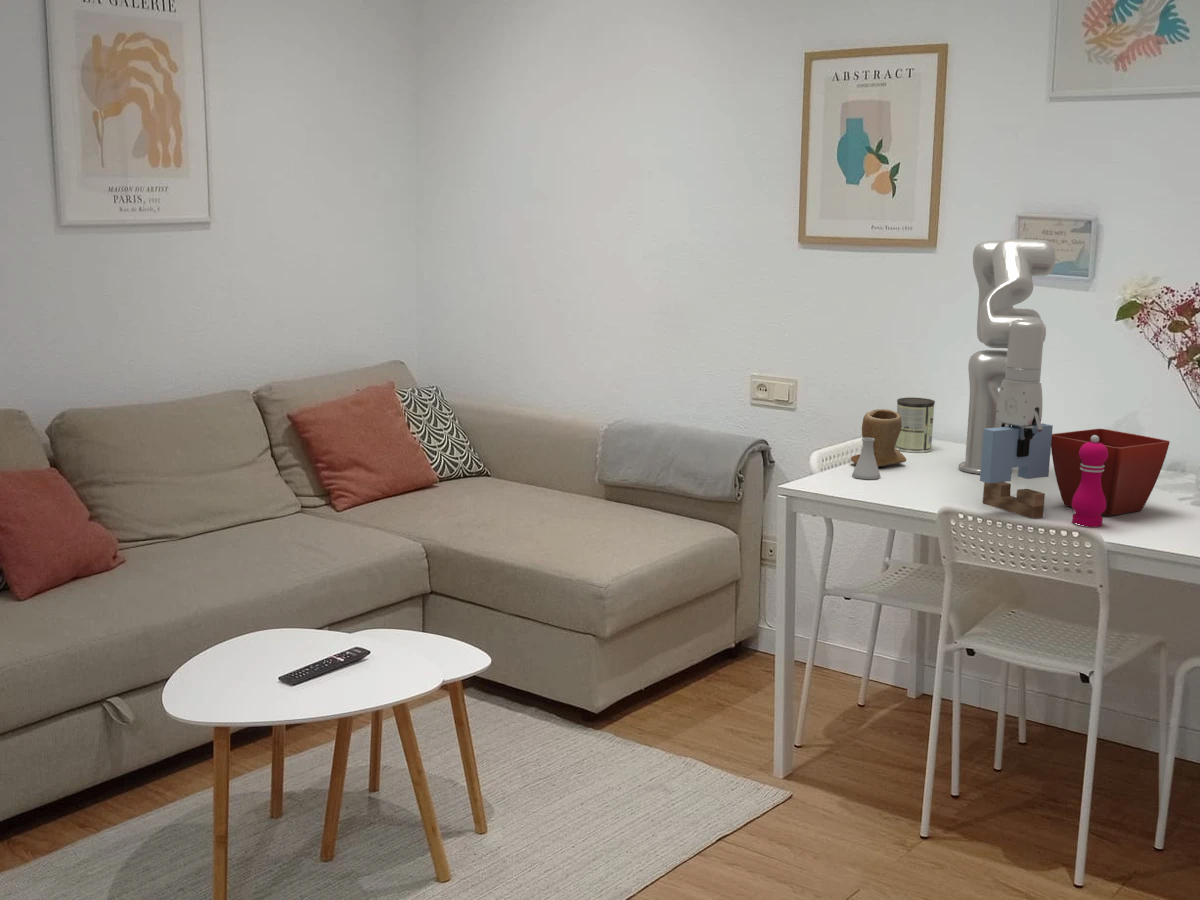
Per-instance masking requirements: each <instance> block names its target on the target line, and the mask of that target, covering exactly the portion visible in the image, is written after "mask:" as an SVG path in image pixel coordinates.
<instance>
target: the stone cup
mask: <svg viewBox="0 0 1200 900" xmlns="http://www.w3.org/2000/svg"><path fill="white" fill-rule="evenodd" d="M900 431H901V416H900V415H899V414H898V413H897V411H895V410H891V409H886V408H885V409H884V408H876V409H873V410H871V411H867V412H866V413H865V414H864V416H863V419H862V425H861V437H862V438H874V439H875V441H874V442H873V450H874V456H875V459H876V463H877V466H878V468H879V467H886V466H891V465H898V464H902V463H906V462H907V458H906V457H905V456H904V453H902V452H901V451H899V450H897V449H895V445H896V442H897V439H898V436H899V434H900ZM859 457H860V454H856V455H853V456H850V461H851V462H852V463H853V464H855V465H856V464H857V462H858V459H859Z"/></svg>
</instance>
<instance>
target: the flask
mask: <svg viewBox="0 0 1200 900" xmlns="http://www.w3.org/2000/svg"><path fill="white" fill-rule="evenodd" d="M874 441H875V439H874V438H863V437H862V438H861V442H862V447H861V452H860V454H859V455H860V457H859V459H858V462H857V464H856V463H855V467H854V470H853V471H852V474H851V476H852V477H854V478H855V479H862V480H878V479H880V478H882V477H881V473H880V469H879V467H878V466H877V463H876V459H875V456H874V450H873V442H874Z"/></svg>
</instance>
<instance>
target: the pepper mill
mask: <svg viewBox="0 0 1200 900" xmlns="http://www.w3.org/2000/svg"><path fill="white" fill-rule="evenodd" d="M1098 441H1099V437H1098V436H1097V435H1093V436H1092V437H1091V442H1087V443H1085V444H1083V445H1082V446H1081V448H1080V450H1079V457H1080V459H1081V460H1082V463H1081V464H1080V465H1081V467H1080V469H1081V470H1082V477H1081V482H1080V485H1079V487H1078V489H1077V490H1076V492H1075V494H1074V496H1073V499H1072V504H1071V505H1072V507H1071V508H1072V510H1073V511H1074V512H1075V513H1074V514H1072V519H1071V522H1072V523H1073V524H1074V523H1077V524H1080V525H1084V526H1088V527H1087V528H1098V527H1102V526H1103V519H1104V518H1103V515H1102V513H1103V512H1104V511H1105V509H1106V499H1105V495H1104V493H1103V490H1102V485H1101V475H1102V472H1103V471H1104V467H1105V465H1103V463H1104V462H1105V461H1106V460H1107V458H1108V450H1107V448H1106V447H1105V445H1103V444H1101V443H1099V442H1098ZM1084 526H1083V527H1084Z"/></svg>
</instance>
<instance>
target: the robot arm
mask: <svg viewBox="0 0 1200 900" xmlns="http://www.w3.org/2000/svg"><path fill="white" fill-rule="evenodd" d="M1055 251H1056V250H1055V248H1054V246H1053V244H1052V243H1051V242H1050V241H1048V240H1046V239H1026V238H1025V239H1023V238H1021V239H1020V238H1019V239H1018V238H1017V239H1016V238H1014V239H1013V238H1011V239H1005V240H988V241H982V242H979V243H977V244H976V246H974V248H973V253H972V267H973V271H974V275H975V279H976V282H977V287H978V302H977V303H978V304H977V306H978V307H977V317H976V319H977V320H976V335H977V339H978V341H979V342H980V343H981V344H984V345H985V346H986V347H988V348H990V349H984V350H978V351H976V352H974V353H973V354H972V355H971V356H970V357H969V360H968V366H967V367H968V369H967V370H968V380H969V381H968V382H969V399H968V400H969V401H968V403H969V404H968V415H967V416H968V417H967V418H968V420H967V431H966V444H965V445H966V446H965V459H964V461H962V462H960V463H958V470H960V471H962V472H966V473H970V474H977V475H980V472H981V458H982V445H983V432H984V429H987V428H998V427H1009V426H1018V427H1020V439H1019V440H1018V444H1017V457H1026V456H1029V446H1030V439H1032V438H1033V436H1034V435H1035V434H1036V433H1038V432H1040V431H1042V426H1041V424H1042V418H1043V388H1042V387H1043V386H1042V383H1041V372H1042V362H1043V349H1044V342H1045V341H1046V336H1047V326H1046V324H1044V321H1043V320H1042V318H1041V315H1040V313H1038V312H1037V311H1036V310H1034V309H1030V308H1015V307H1014V306H1015V305H1018V304H1021V303H1023V302H1024V301H1026V300H1027V299H1029V298H1030V296H1031V295H1032V293H1033V291H1034V283H1033V277H1040V276H1041V277H1045V276H1049V275H1050V274H1051V273H1052V272H1053V270H1054V268H1055V265H1056V252H1055ZM991 349H992V350H991ZM993 349H994V350H993ZM995 349H996V350H995ZM1000 349H1001V350H1000ZM1002 349H1007V350H1002ZM998 389H999V390H998ZM1026 429H1027V431H1026Z"/></svg>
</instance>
